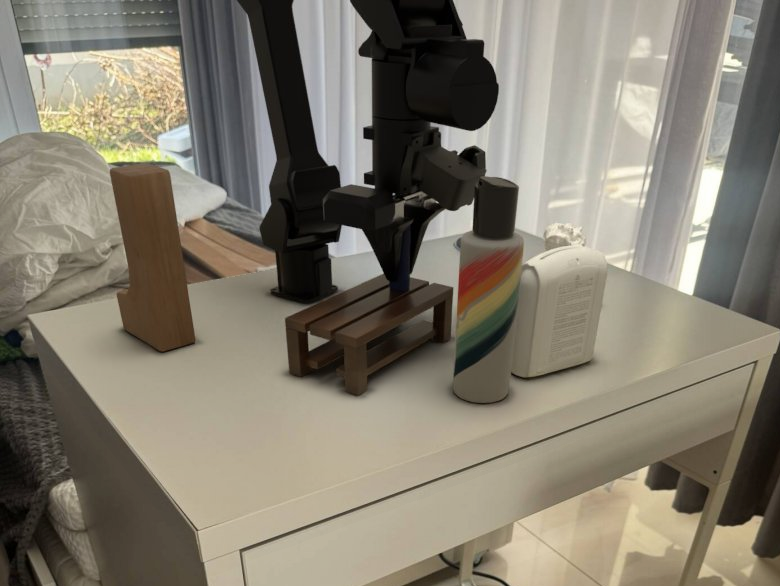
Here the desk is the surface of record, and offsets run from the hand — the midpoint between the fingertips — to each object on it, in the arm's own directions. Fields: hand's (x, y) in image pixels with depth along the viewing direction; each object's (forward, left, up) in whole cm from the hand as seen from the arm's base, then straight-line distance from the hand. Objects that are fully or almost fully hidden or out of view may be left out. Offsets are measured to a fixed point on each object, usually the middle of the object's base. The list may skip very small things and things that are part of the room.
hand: (399, 277), depth 84 cm
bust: (+11, +20, -7) cm, 24 cm away
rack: (0, -5, -7) cm, 9 cm away
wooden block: (-23, -15, -7) cm, 28 cm away
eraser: (0, 0, -1) cm, 1 cm away
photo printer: (+17, +4, -7) cm, 19 cm away
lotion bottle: (+14, -6, -7) cm, 17 cm away
